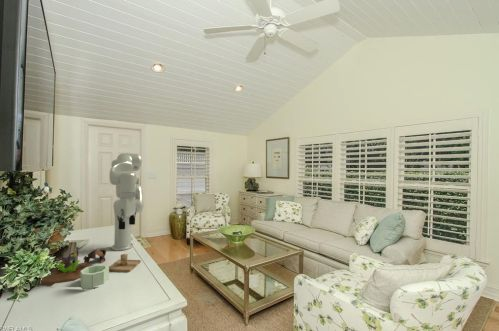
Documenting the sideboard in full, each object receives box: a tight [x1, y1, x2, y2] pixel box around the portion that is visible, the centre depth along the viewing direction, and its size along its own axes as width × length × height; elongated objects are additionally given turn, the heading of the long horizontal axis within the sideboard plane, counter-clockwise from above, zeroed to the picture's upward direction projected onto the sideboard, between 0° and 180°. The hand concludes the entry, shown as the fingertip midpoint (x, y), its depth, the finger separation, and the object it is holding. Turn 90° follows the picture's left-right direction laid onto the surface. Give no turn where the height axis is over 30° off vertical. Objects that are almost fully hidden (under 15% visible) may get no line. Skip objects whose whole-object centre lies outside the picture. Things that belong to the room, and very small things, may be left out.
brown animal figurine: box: [82, 248, 107, 264], centre depth 134 cm, size 12×10×8 cm
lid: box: [108, 253, 141, 273], centre depth 126 cm, size 12×12×6 cm
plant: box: [40, 252, 94, 287], centre depth 118 cm, size 20×20×11 cm
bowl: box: [79, 264, 110, 290], centre depth 110 cm, size 10×10×6 cm
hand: (127, 226), depth 131 cm, fingers open, 9 cm apart
